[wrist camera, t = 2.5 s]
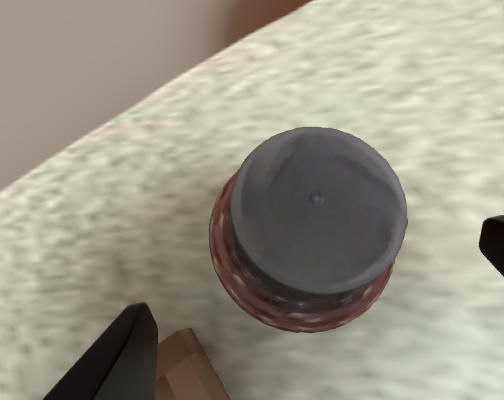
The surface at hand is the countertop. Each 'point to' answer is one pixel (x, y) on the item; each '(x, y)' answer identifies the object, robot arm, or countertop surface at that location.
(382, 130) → the countertop surface
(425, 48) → the countertop surface
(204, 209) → the countertop surface
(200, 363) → the tray
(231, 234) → the supplement bottle
